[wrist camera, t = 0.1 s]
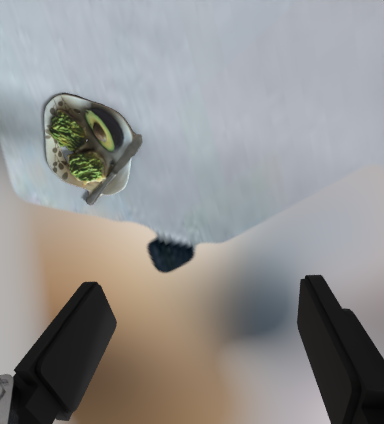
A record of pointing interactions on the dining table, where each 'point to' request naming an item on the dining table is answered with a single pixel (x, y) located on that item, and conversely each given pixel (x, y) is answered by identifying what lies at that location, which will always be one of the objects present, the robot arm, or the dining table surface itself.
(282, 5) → the dining table surface
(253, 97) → the dining table surface
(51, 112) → the salad plate
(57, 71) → the dining table surface
